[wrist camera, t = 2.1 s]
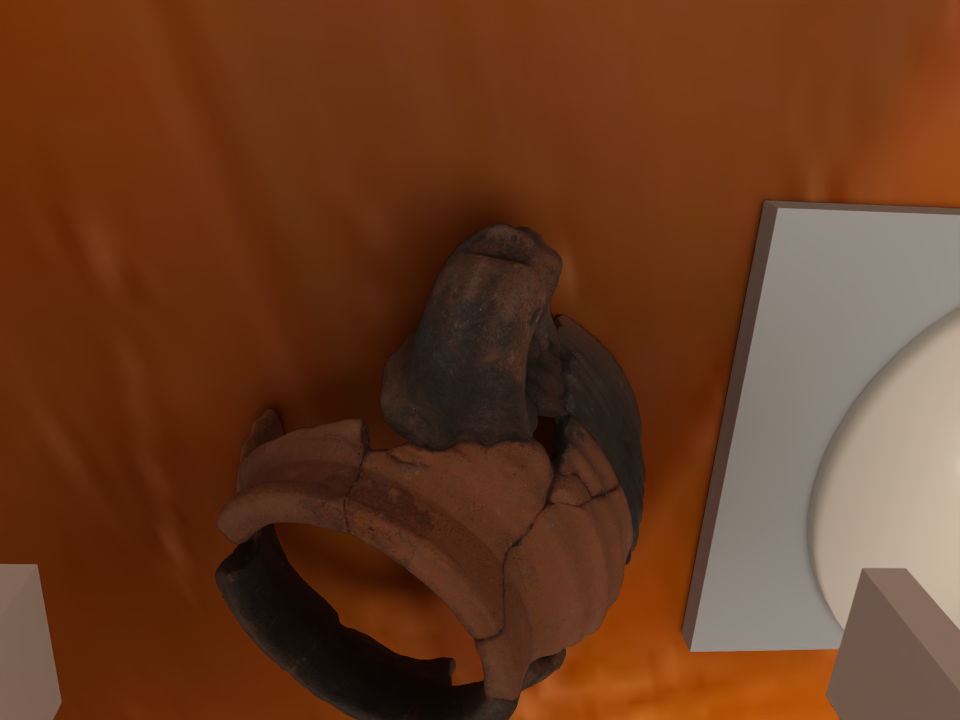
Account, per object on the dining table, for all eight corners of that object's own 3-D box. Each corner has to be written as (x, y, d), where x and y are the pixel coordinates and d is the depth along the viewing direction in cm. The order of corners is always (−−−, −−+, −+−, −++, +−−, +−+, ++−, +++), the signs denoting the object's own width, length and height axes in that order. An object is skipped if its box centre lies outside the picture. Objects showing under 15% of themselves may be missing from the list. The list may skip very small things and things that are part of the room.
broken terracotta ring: (636, 564, 25) (544, 833, 18) (353, 460, 27) (188, 666, 21) (745, 190, 17) (652, 430, 11) (345, 95, 20) (88, 248, 14)
